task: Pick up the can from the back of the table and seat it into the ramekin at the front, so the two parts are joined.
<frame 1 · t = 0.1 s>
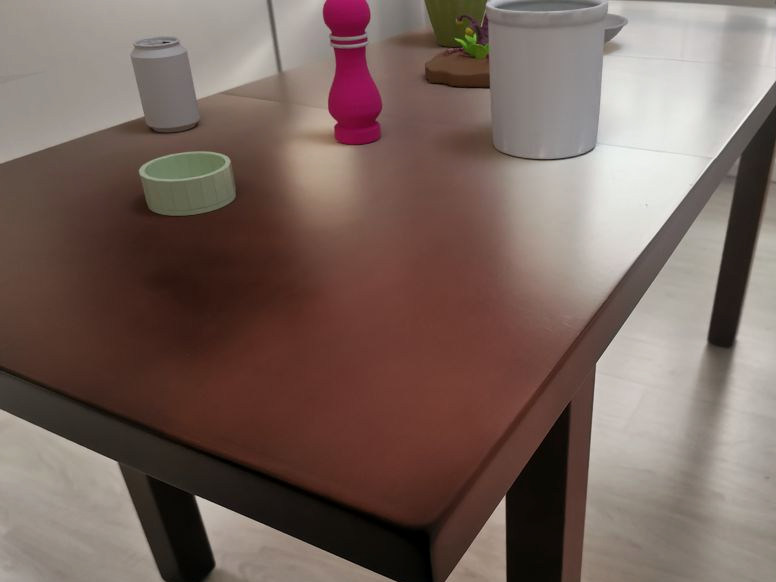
flower pot: (457, 44, 162), on the table
dish: (587, 49, 155), on the table
pepper mill: (358, 139, 110), on the table
ramekin: (192, 199, 92), on the table
can: (174, 127, 117), on the table
utensil holder: (542, 144, 107), on the table
plant: (486, 75, 140), on the table
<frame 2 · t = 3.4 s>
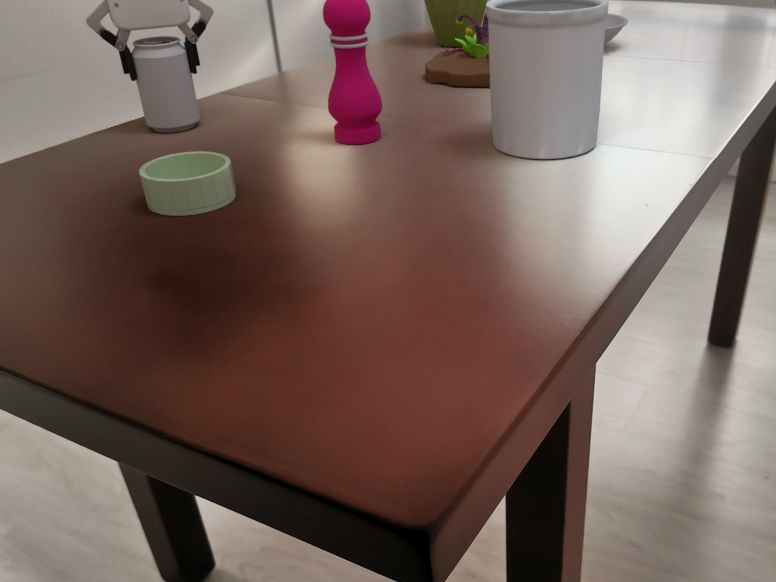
hand: (163, 74, 113), 7 cm above the table, tool pointing down, fingers closed on can, 7 cm apart
can: (174, 127, 117), on the table, touching gripper
everything else where it was.
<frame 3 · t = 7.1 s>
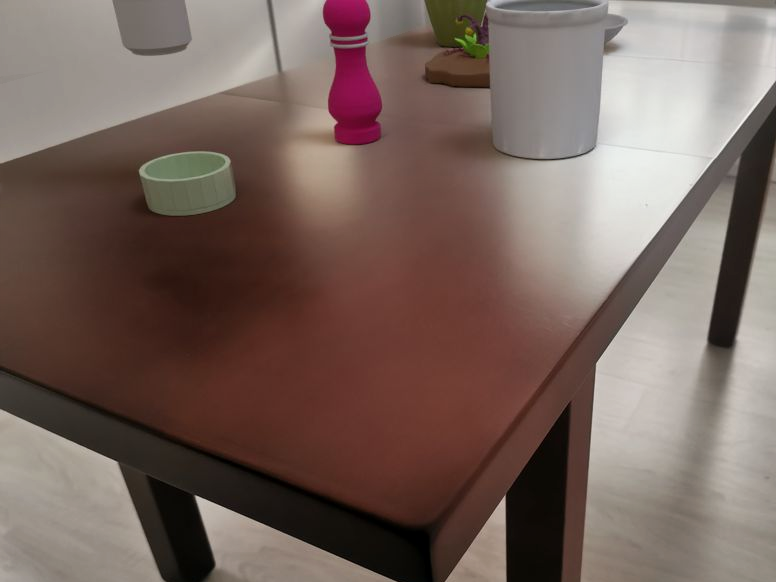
can: (159, 52, 92), point 14 cm above the table, touching gripper
everything else where it was.
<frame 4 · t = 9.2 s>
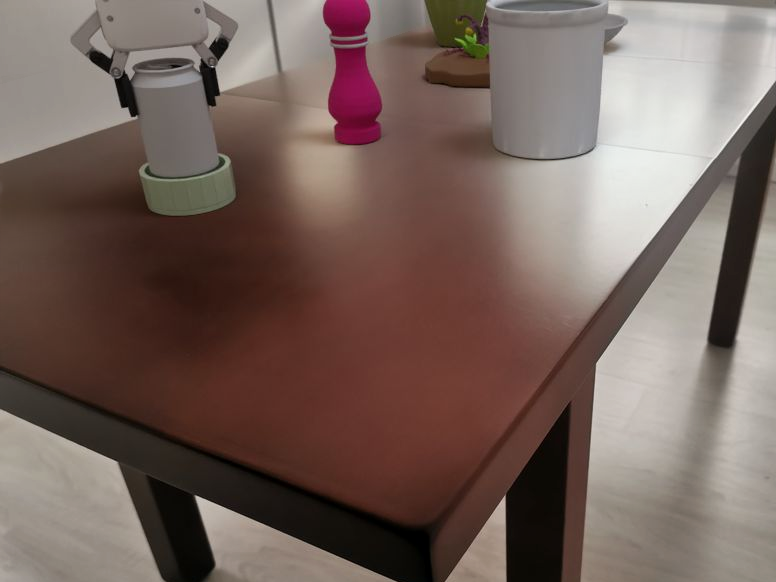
hand: (172, 107, 86), 10 cm above the table, tool pointing down, fingers closed on can, 7 cm apart
can: (186, 174, 90), point 3 cm above the table, touching gripper
everything else where it was.
when the fingers open (8 cm above the table, at t = 10.6 s): can stays where it is, resting on ramekin.
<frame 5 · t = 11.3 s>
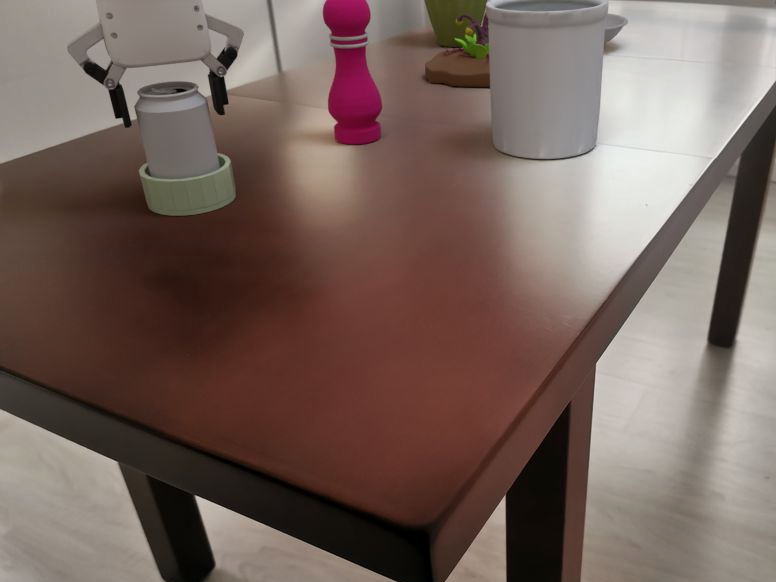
hand: (174, 118, 87), 9 cm above the table, tool pointing down, fingers open, 9 cm apart
can: (190, 195, 92), resting on ramekin
everything else where it was.
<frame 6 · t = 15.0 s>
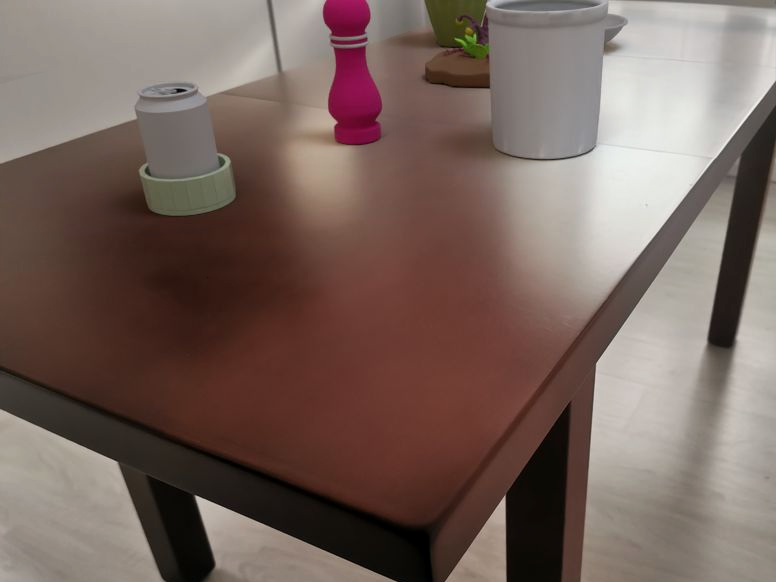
nothing on the table moved.
at the end: can 0.1 cm off-centre in the ramekin, point 0.4 cm above the ramekin's base; can tilted 0° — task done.
